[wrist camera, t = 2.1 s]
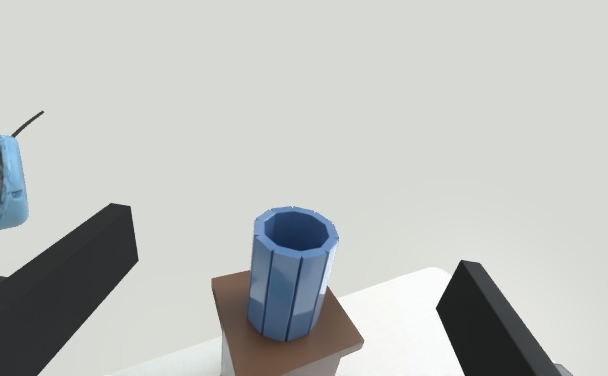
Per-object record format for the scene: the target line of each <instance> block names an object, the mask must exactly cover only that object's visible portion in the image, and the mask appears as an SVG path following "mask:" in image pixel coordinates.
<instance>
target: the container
mask: <svg viewBox="0 0 608 376" xmlns="http://www.w3.org/2000/svg"><path fill="white" fill-rule="evenodd" d="M338 239H339V237H338V234H337V232H336V229H335V226H334V224H332V222H331V221H329V220H328V219H326V218H325V217H323V216H322V215H320V214H319V213H317V212H315V213H314V211H312V210H308V209H303V208H299V207H293V208H292V207H291V206H289V207H281V208H273V209H271V210H267V211H266V212H265V213H263V214H262V215H260V216H259V217H257V218H256V220H255V221H254V231H253V243H252V255H251V266H250V277H249V289H248V301H247V316H248V320H249V321H250V322H251V323H252V325H253V326H254V327H255V328H256V330H257V331H258V332H259V333H260V334H261V333H263V336H264V337H268V338H272V339H275V340H279V341H283V342H285V338H286V340H287V341H291V340H294V339H297V338H300V337H302V336H305V335H307V334H308V332H309V333H310V332H311V330H312V328H313V327H314V325H315V323H316V321H317V320H318V318H319V315H320V311H321V307H322V303H323V299H324V295H325V292H326V288H327V284H328V280H329V276H330V272H331V268H332V264H333V261H334V257H335V253H336V249H337V245H338V241H339V240H338Z"/></svg>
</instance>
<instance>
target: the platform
mask: <svg viewBox="0 0 608 376" xmlns="http://www.w3.org/2000/svg"><path fill="white" fill-rule="evenodd" d="M249 277H250V270H249V271H244V272H239V273H235V274H230V275H225V276H221V277H216V278H212V291H213V295H214V299H215V304H216V308H217V312H218V316H219V320H220V324H221V328H222V361H221V376H335V373H336V370H337V367H338V364H339V361H340V358H341V357H343V356H346V355H348V354H350V353H353V352H355V351H357V350H360V349H361V348H362V346H363V343H364V339H363V338H362V336H361V335H360V333H359V332H358V330H357V329H356V327H355V326H354V324H353V323H352V321H351V320H350V318H349V317H348V315H347V314H346V312H345V311H344V309H343V308H342V306H341V305H340V303H339V302H338V300H337V299H336V297H335V296H334V295H333V293H332V292H331V290H330V289H329V287H328V286H327V288H326V292H325V295H324V299H323V303H322V307H321V311H320V315H319V318H318V320H317V321H316V323H315V325H314V327H313V328H312V330H311V332H310V333H309V332H308V334H307V335H305V336H302V337H300V338H297V339H294V340H291V341H287V340H286V338H285V342H283V341H279V340H275V339H272V338H268V337H264V336H263V333H261V334H260V333H259V332H258V331H257V330H256V328H255V327H254V326H253V325H252V323H251V322H250V321H249V320H248V316H247V301H248V289H249Z"/></svg>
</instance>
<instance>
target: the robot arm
mask: <svg viewBox="0 0 608 376" xmlns="http://www.w3.org/2000/svg"><path fill="white" fill-rule="evenodd" d="M43 113H44V111H41V112H40V113H38V114H37V115H36V116H34V117H33V118H31V119H30V120H29V121H27V122H26V123H25V124H23V125H22V126H21V127H20V128H19V129H18V130H17V131H16V132H14V134H12V135H11V136H5V135H4V136H3V135H0V230H2V229H6V228H11V227H16V226H18V225H21V224H22V223H24V222H25V221H26V220H27V218H28V202H27V194H26V187H25V181H24V173H23V168H22V161H21V156H20V151H19V146H18V142H17V140H16V139H15V137H16V136H17V135H18V133H20V132H21V131H22V130H23V129H24V128H25V127H26V126H27V125H29V124H30V123H31V122H32V121H34V120H35V119H36V118H37V117H39V116H40V115H42V114H43ZM137 262H138V254H137V247H136V240H135V233H134V227H133V221H132V213H131V207H130V206H126V205H119V204H114V203H110V204H109V205H108V206H106V207H105V208H103V209H102V210H101V211H99V212H98V213H96V214H95V215H94V216H92V217H91V218H89V219H88V220H87V221H85V222H84V223H83V224H81V225H80V226H79V227H77V228H76V229H74V230H73V231H72V232H70V233H69V234H67V235H66V236H65V237H63V238H62V239H60V240H59V241H58V242H56V243H55V244H53V245H52V246H51V247H49V248H48V249H46V250H45V251H44V252H42V253H41V254H40V255H38V256H37V257H35V258H34V259H33V260H31V261H30V262H28V263H27V264H26V265H24V266H23V267H22V268H20V269H19V270H17V271H16V272H15V273H13V274H12V275H11V276H9V277H3V276H0V376H37V375H38V374H39V373H40V372H41V371H42V370H43V369H44V367H45V366H46V365H47V364H48V363H49V362H50V360H51V359H52V358H53V357H54V356H55V355H56V354H57V352H59V350H60V349H61V348H62V347H63V346H64V345H65V344H66V342H67V341H68V340H69V339H70V338H71V337H72V336H73V334H74V333H75V332H76V331H77V330H78V329H79V328H80V326H81V325H82V324H83V323H84V322H85V321H86V320H87V319H88V317H89V316H90V315H91V314H92V313H93V311H95V309H96V308H97V307H98V306H99V305H100V304H101V303H102V301H103V300H104V299H105V298H106V297H107V296H108V295H109V294H110V292H111V291H112V290H113V289H114V288H115V287H116V286H117V284H118V283H119V282H120V281H121V280H122V279H123V277H124V276H125V275H126V274H127V273H128V272H129V271H130V270H131V268H132V267H133V266H134V265H135V264H136V263H137ZM436 310H437V312H438V314H439V317H440V319H441V321H442V324H443V326H444V328H445V331H446V333H447V335H448V338H449V340H450V342H451V345H452V347H453V349H454V352H455V354H456V356H457V358H458V361H459V363H460V365H461V368H462V370H463V372H464V375H465V376H573V375H572V374H571V373H570V372H569V371H568V370H567V369H565V368H564V367H563V366H562V365H560V364H554V363H553V362H552V361H551V360H550V358H549V357H548V356H547V354H546V353H545V351H544V350H543V349H542V347H541V346H540V345H539V343H538V342H537V340H536V339H535V338H534V336H533V335H532V334H531V332H530V331H529V329H528V328H527V327H526V325H525V324H524V323H523V321H522V320H521V319H520V317H519V316H518V314H517V313H516V312H515V310H514V309H513V308H512V306H511V305H510V303H509V302H508V301H507V300H506V298H505V297H504V295H503V294H502V293H501V291H500V290H499V288H498V287H497V286H496V284H495V283H494V282H493V280H492V279H491V277H490V276H489V275H488V273H487V272H486V271H485V269H484V268H483V267H482V265H481V264H480V263H477V262H470V261H464V260H461V261H460V263H459V265H458V267H457V269H456V270H455V272H454V274H453V276H452V278H451V280H450V282H449V284H448V286H447V288H446V290H445V291H444V293H443V295H442V297H441V299H440V301H439V303H438V305H437V307H436Z"/></svg>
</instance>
